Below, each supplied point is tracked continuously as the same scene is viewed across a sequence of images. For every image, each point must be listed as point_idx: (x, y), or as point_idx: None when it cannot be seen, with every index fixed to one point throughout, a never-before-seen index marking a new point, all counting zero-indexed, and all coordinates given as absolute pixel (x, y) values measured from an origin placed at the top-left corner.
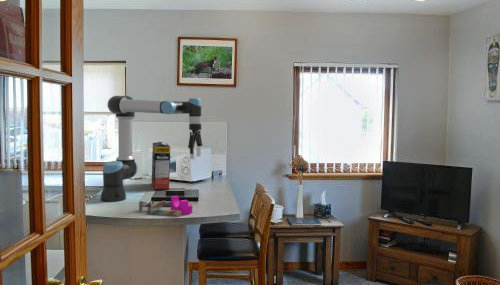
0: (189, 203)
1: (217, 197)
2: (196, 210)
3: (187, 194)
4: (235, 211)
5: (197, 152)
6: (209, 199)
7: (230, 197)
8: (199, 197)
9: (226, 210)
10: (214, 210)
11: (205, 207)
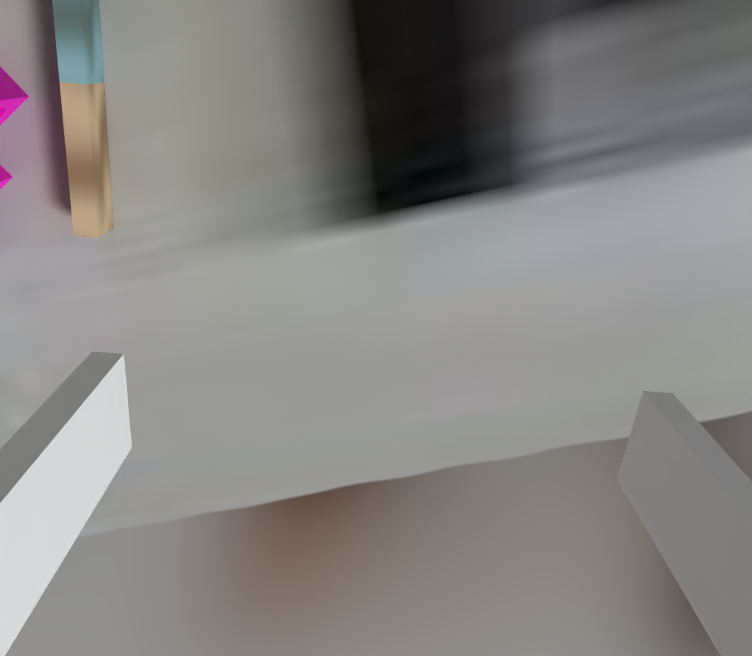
0: (72, 213)
1: (509, 360)
2: (15, 283)
3: (649, 39)
4: (84, 533)
5: (683, 473)
6: (424, 309)
7: (513, 454)
8: (502, 204)
9: None
10: None
11: (133, 331)
